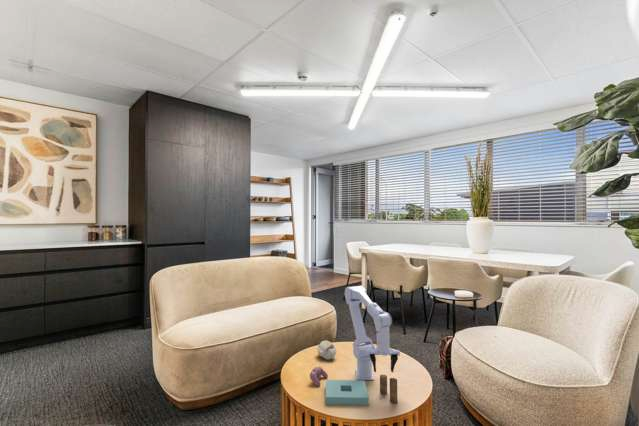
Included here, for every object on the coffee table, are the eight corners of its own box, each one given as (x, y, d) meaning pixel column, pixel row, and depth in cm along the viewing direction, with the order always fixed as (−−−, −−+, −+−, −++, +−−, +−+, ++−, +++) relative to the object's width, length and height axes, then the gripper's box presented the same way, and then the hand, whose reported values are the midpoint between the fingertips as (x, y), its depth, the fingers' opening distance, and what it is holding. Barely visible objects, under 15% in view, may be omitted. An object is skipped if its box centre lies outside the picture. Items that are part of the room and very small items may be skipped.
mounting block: (326, 386, 139) (326, 379, 139) (364, 387, 138) (364, 380, 139) (325, 404, 125) (325, 396, 125) (368, 405, 124) (368, 397, 125)
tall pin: (389, 399, 129) (388, 377, 129) (396, 399, 129) (396, 378, 129) (390, 403, 126) (390, 381, 126) (398, 403, 125) (398, 381, 126)
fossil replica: (330, 363, 162) (339, 358, 171) (332, 348, 163) (341, 343, 171) (312, 356, 169) (321, 351, 177) (314, 341, 170) (323, 337, 178)
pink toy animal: (321, 379, 149) (315, 365, 150) (329, 376, 147) (323, 362, 149) (312, 388, 140) (306, 373, 142) (320, 386, 138) (314, 371, 140)
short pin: (379, 390, 136) (379, 374, 136) (386, 390, 136) (386, 374, 136) (380, 394, 133) (380, 378, 133) (387, 394, 133) (387, 378, 133)
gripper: (368, 343, 131) (368, 375, 131) (401, 344, 131) (401, 375, 130) (366, 337, 138) (366, 367, 138) (397, 338, 138) (398, 368, 137)
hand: (383, 371), depth 135 cm, fingers open, 7 cm apart
